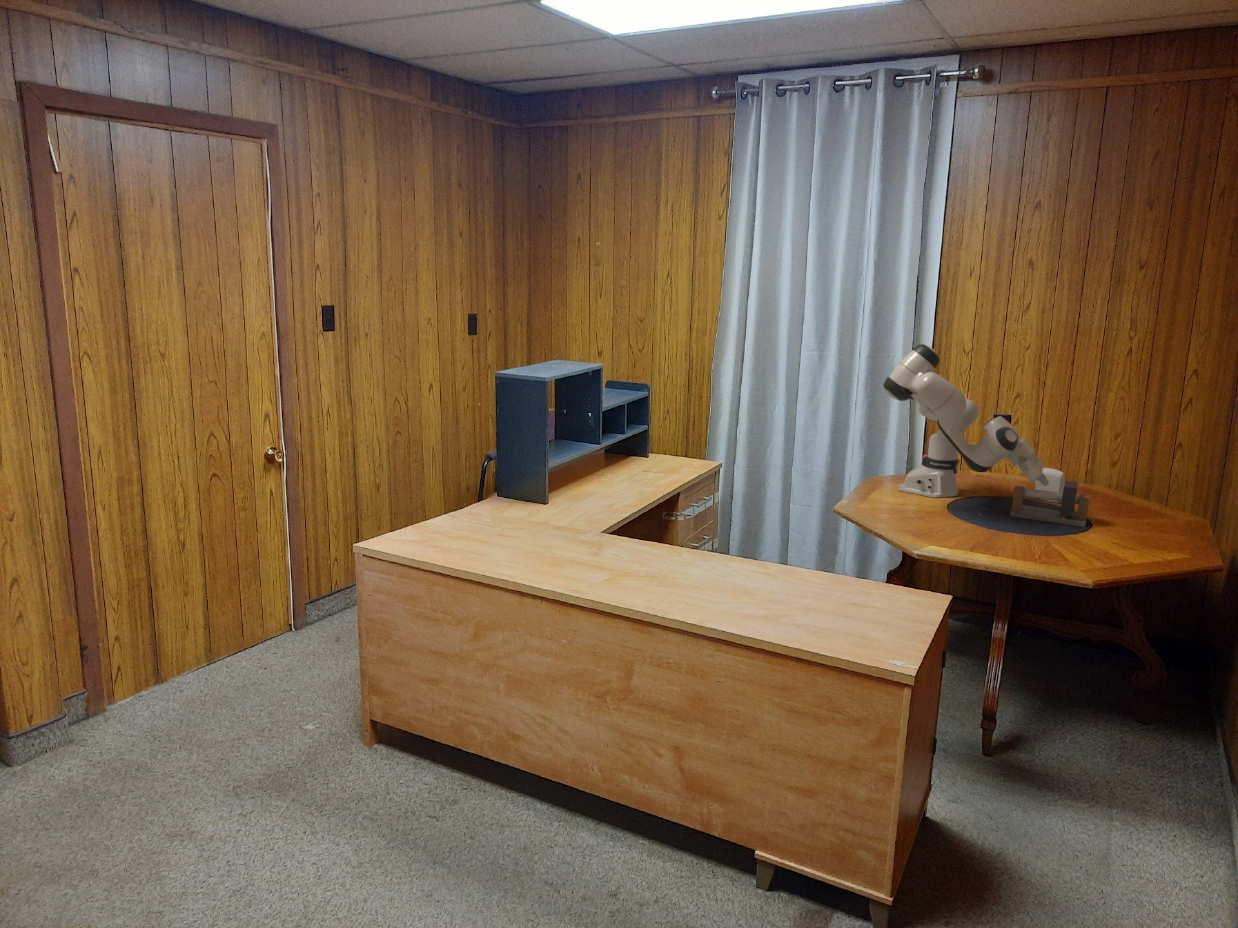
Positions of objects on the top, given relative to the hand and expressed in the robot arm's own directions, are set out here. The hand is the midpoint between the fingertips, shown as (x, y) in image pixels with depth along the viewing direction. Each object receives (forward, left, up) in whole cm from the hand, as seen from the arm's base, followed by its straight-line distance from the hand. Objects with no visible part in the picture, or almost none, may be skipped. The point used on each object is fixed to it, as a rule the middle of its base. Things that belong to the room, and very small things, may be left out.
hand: (1047, 484), depth 307 cm
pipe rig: (+2, 0, -12) cm, 12 cm away
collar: (+7, 0, -9) cm, 12 cm away
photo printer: (0, +26, -12) cm, 28 cm away
